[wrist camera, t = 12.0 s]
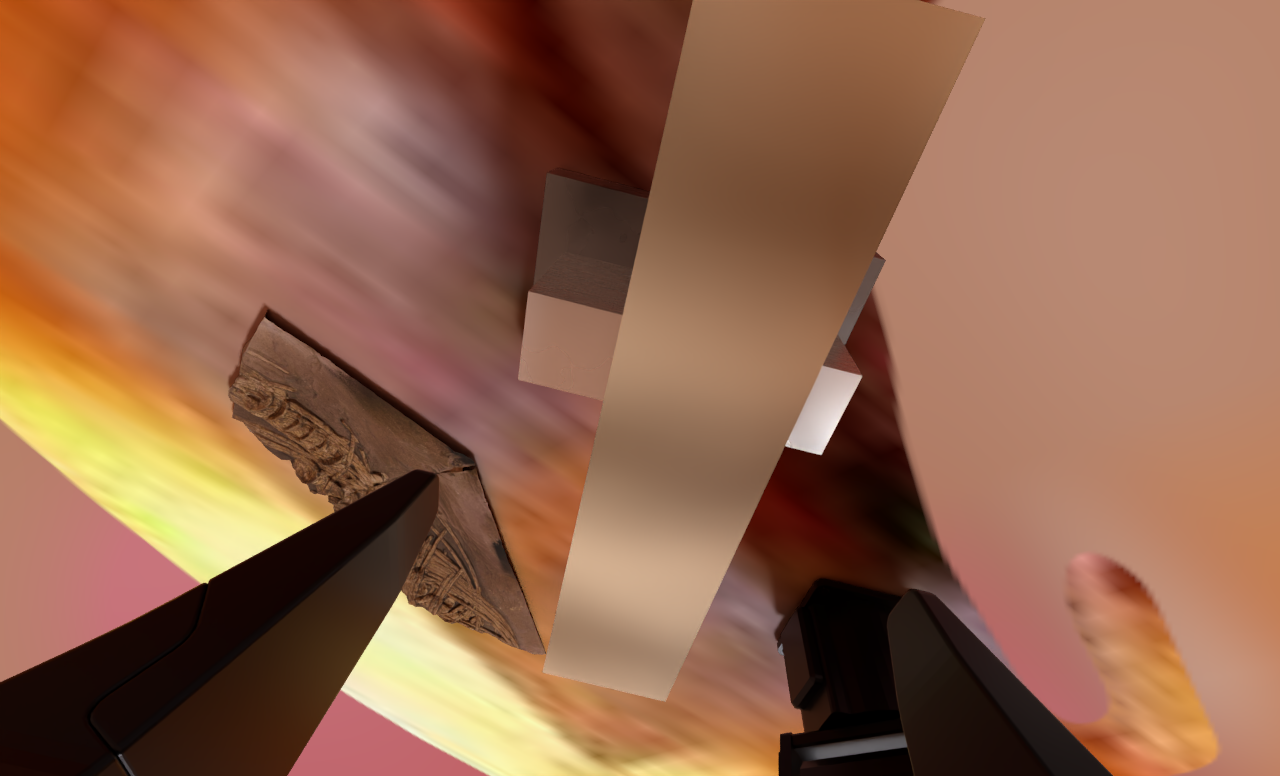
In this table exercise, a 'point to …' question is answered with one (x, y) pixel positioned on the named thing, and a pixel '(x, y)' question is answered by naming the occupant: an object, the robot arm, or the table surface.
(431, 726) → the table surface
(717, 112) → the birch rod
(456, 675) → the table surface
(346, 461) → the wooden fragment
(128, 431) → the table surface
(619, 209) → the balance ridge
